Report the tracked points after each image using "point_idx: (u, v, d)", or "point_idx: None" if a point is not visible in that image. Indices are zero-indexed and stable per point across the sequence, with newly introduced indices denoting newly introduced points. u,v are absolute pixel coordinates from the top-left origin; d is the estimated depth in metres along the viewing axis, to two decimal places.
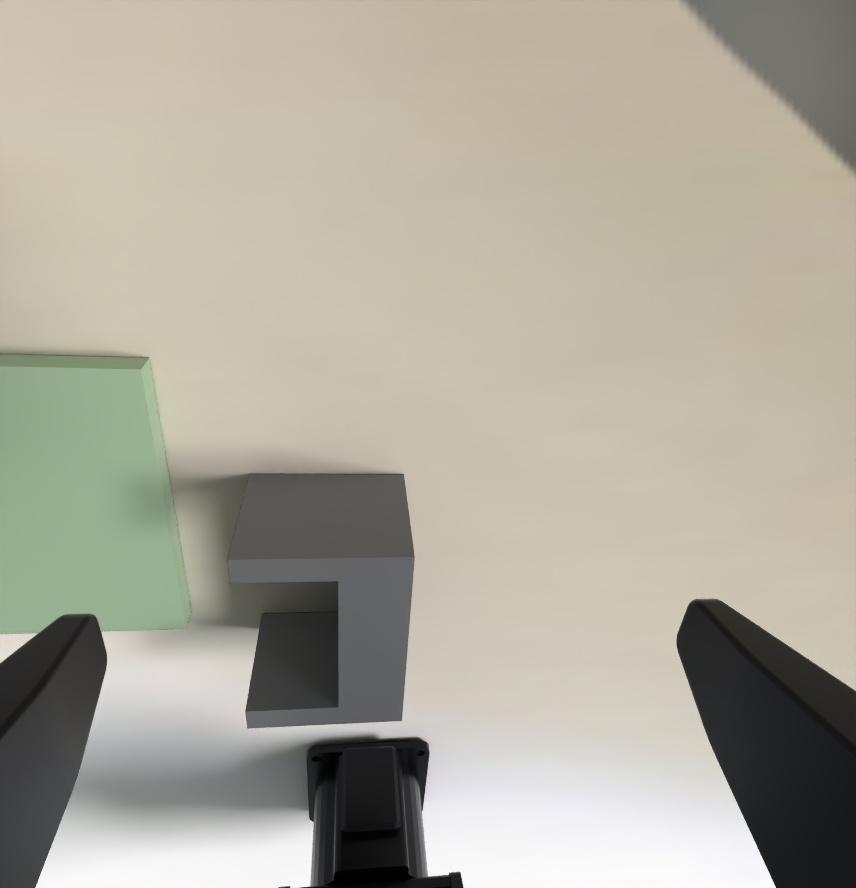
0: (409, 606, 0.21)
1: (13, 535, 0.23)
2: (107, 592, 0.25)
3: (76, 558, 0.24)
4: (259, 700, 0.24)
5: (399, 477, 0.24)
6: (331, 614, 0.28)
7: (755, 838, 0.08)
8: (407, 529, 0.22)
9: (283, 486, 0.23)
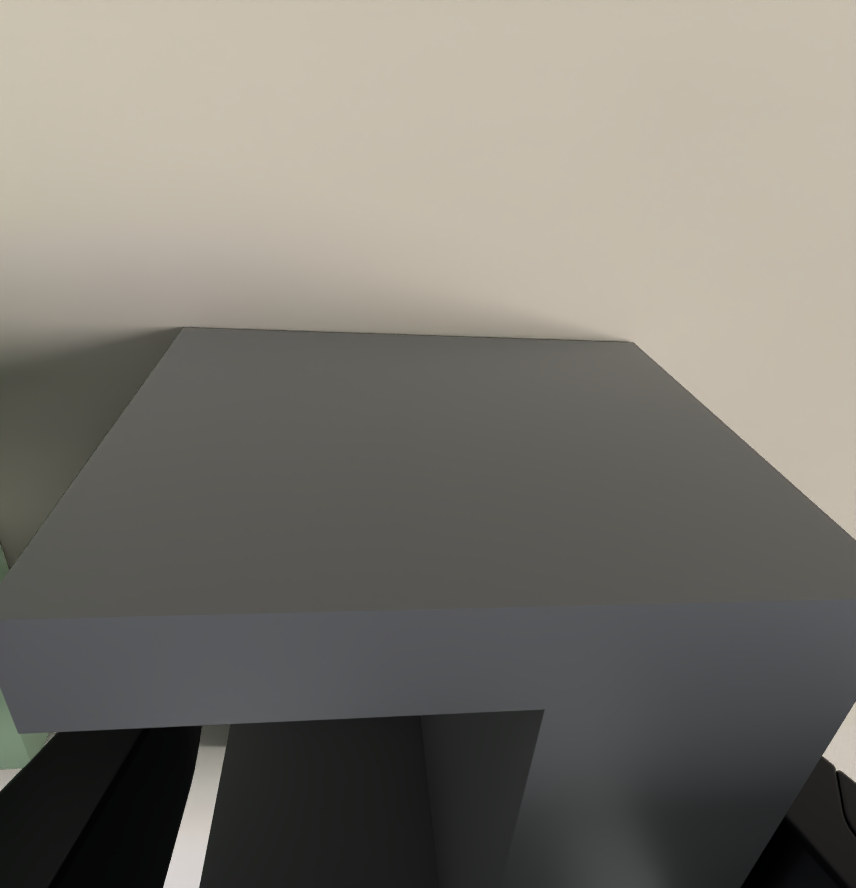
0: (796, 791, 0.05)
1: None
2: None
3: None
4: None
5: (627, 349, 0.08)
6: None
7: None
8: (776, 481, 0.06)
9: (286, 355, 0.07)
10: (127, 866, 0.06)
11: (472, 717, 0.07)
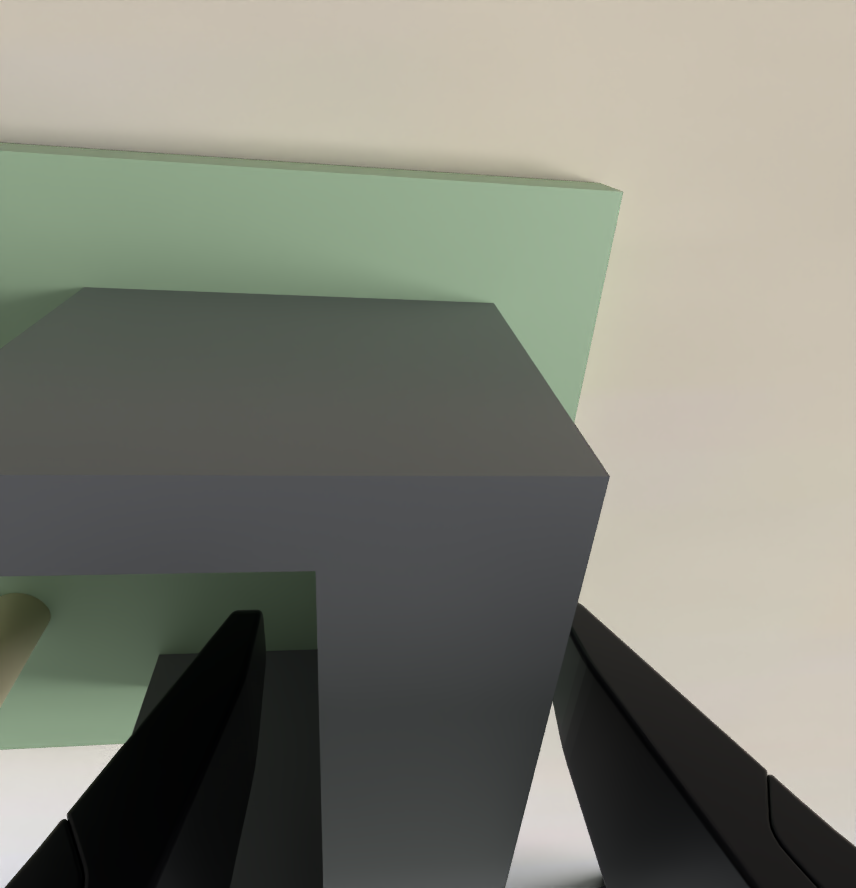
0: (559, 659, 0.06)
1: None
2: None
3: None
4: None
5: (485, 307, 0.09)
6: (313, 654, 0.13)
7: (595, 850, 0.08)
8: (548, 401, 0.07)
9: (168, 308, 0.08)
10: (207, 860, 0.06)
11: None
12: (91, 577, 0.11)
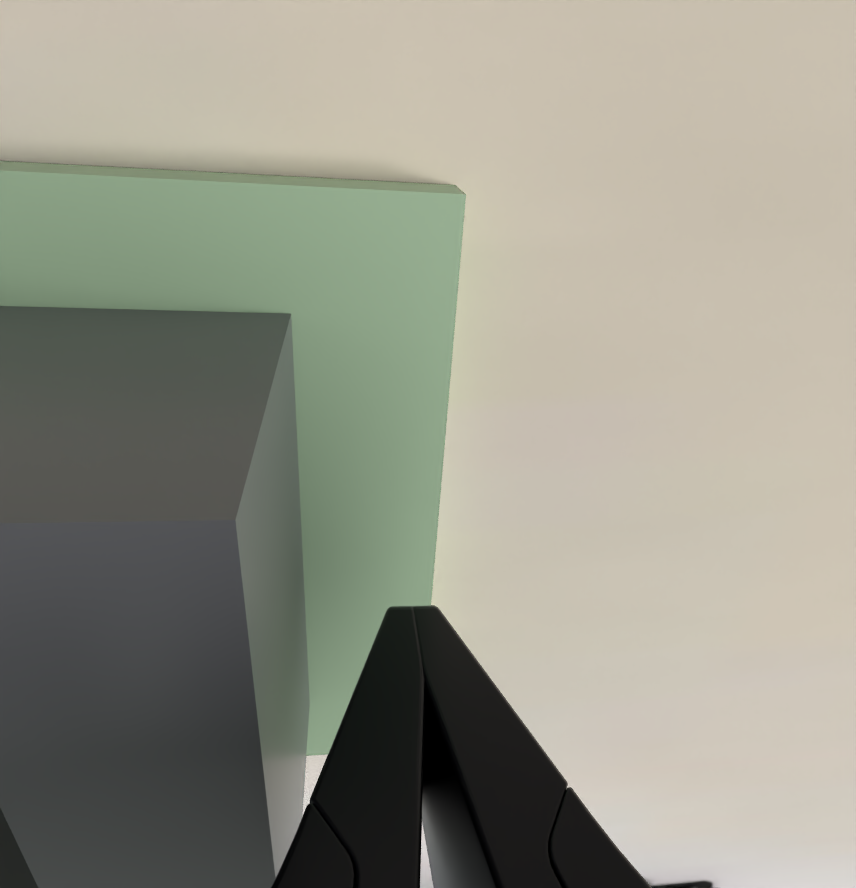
0: (252, 716, 0.06)
1: None
2: None
3: None
4: None
5: (275, 318, 0.09)
6: None
7: None
8: (247, 428, 0.06)
9: None
10: None
11: None
12: None
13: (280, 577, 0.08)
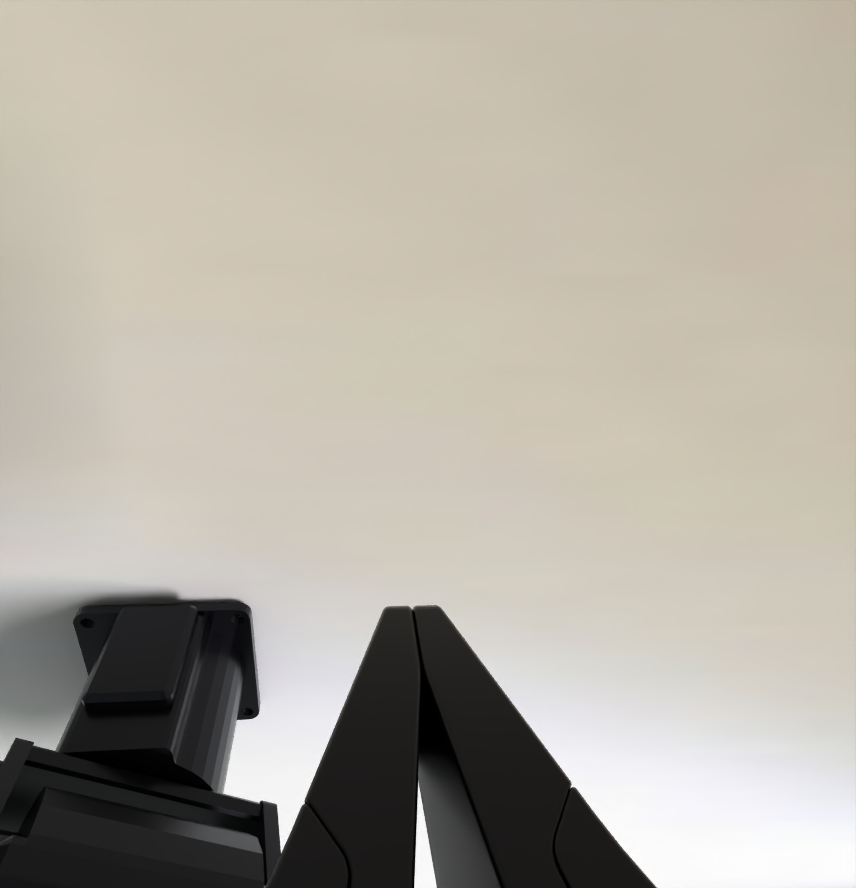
0: None
1: None
2: None
3: None
4: None
5: None
6: None
7: None
8: None
9: None
10: None
11: None
12: None
13: None
